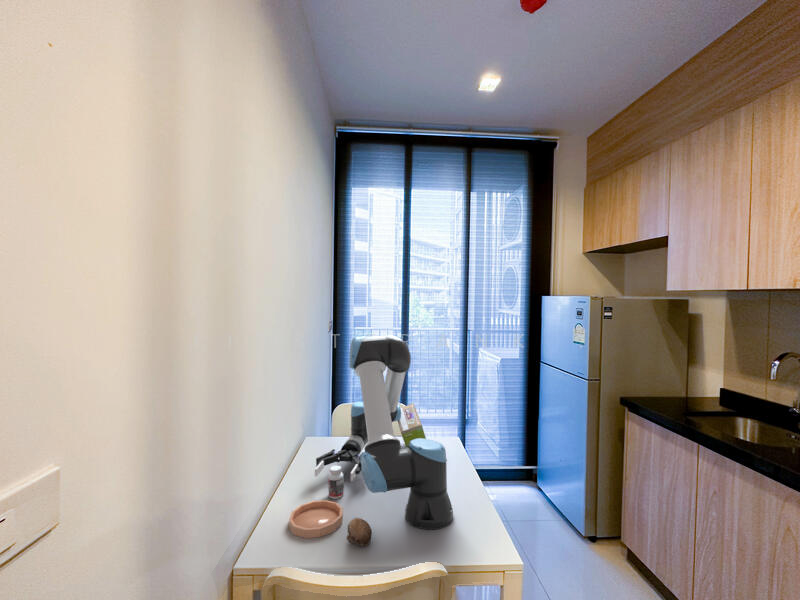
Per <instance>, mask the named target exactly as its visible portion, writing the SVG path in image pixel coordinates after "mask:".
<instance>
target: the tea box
mask: <svg viewBox="0 0 800 600" xmlns="http://www.w3.org/2000/svg"><path fill="white" fill-rule="evenodd" d="M400 408H401V418H400V420H399V421H397V424H398V427H399V431H400V434H401V437H402V439H403V442H404V443H403V444H404V445H405V447H409V443H410V441H411V440H413V439H419V438H422V439H427V438H426V433H425V430H424V428H423V425H422V424H423V423H422V421H421V420H420V417H419V414H418V411H417V409H416V406H415V404H414V403H411V404H408V405H405V406H403V407H400Z"/></svg>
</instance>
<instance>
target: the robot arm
mask: <svg viewBox="0 0 800 600" xmlns="http://www.w3.org/2000/svg"><path fill="white" fill-rule="evenodd" d="M348 358H349V360H348V367H349V369H352V370H354V374H355V375H356V376H357V377H359V382H360V390H361V397H362V401H356V402H354V403H352V405H351V407H350V408H351V409H350V425H351V426H350V427H351V428H350V436H349V438H348V439H346V442H344V444H343V445H342V446H341V449H340V450H339V451H336V449H332V450H330V451H329V452H327V453H324V454H322V455H320V456H318V457H316V459H315V465H316V466H315V468H314V477H315V478H316V477H318V475H319V474H320V473H321V472H322V471H323V470H324V468H325V467H326V466H329V465H331V464H334V463H341V462H347V463H350V464H351V465H353V466H354V467H353V468H352V470H351V471H350V481H354V479H355V477H356V476H357V475H359V474H360V473H361V472H362V473H361V474H362V477H363V480H364V484H365V487H366V488H367V489H368V491H369V492H371V493H374V494H375V493H387V492H389V491H390V492H391V491H396V490H402V489H410V491H409V496H408V499H407V503H406V505H405V509H404V510H405V512H404V513H405V518H406V520H407V522H408V523H409V524H410V525H411V526H414V527H415V528H418V529H422V530H438V529H441V528H445V527H447V526H448V525H449V524H450V523H452V521H453V520H454V511H453V510H454V509H453V505H452V502H451V499H450V497H449V494H448V484H447V483H448V482H447V478H448V477H447V462H448V459H447V452H446V447H445V446H444V445H443V443H441V442H439V441H437V440H434V439H429V438H426V439H422V438H419V439H413V440H411V441H410V443H409V447H406V446H405V447H402V446H401V445H402V444H401V441H400V439H398V438H397V437H396V436H395V433H394V427H393V422H398V421H399V420H400V418H401V408H402V407H401V406H400V404H399V402H400V399H401V398H400V397H401V393H402V390H403V385H404V381H405V377H406V373H407V371H409V370H410V366H411V363H412V357H411V352H410V349H409V347H408V346H407V344H406V343H405V342H404V341H403V340H402V339H401V338H400V337H397V336H395V335H376V336H364V335H363V336H358V337H353V338H352V339H351V342H350V348H349V357H348ZM385 371H386V375H385V377H384V373H385ZM363 450H364V451H363ZM358 458H359V459H358Z"/></svg>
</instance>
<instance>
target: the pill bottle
mask: <svg viewBox="0 0 800 600" xmlns="http://www.w3.org/2000/svg"><path fill="white" fill-rule="evenodd" d="M327 480H328V481H327V482H328V486H327V487H328V488H327V489H328V491H327V492H328V497H329V498H331V499H333V500H335V499H340V498H342V497H344V494H345V493H344V491H345V489H344V488H345V486H344V473H343V472H342V466H340V465H333V466H330V468H329V474H328V478H327Z"/></svg>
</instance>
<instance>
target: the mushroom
mask: <svg viewBox="0 0 800 600" xmlns="http://www.w3.org/2000/svg"><path fill="white" fill-rule="evenodd" d="M370 525H371V524H369V523H368V521H367V520H365V519H363V518H360V517H354V518H353V519H351V520H350V521H349V523H348V525H347V534H348V535H347V536H346V541H347V542H348V543H350V544H354V543H355V544H357V545H358V546H360V547H366V546H368V545H369V544H370V543H371V541H372V536H373V531H372V527H371V526H370Z"/></svg>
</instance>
